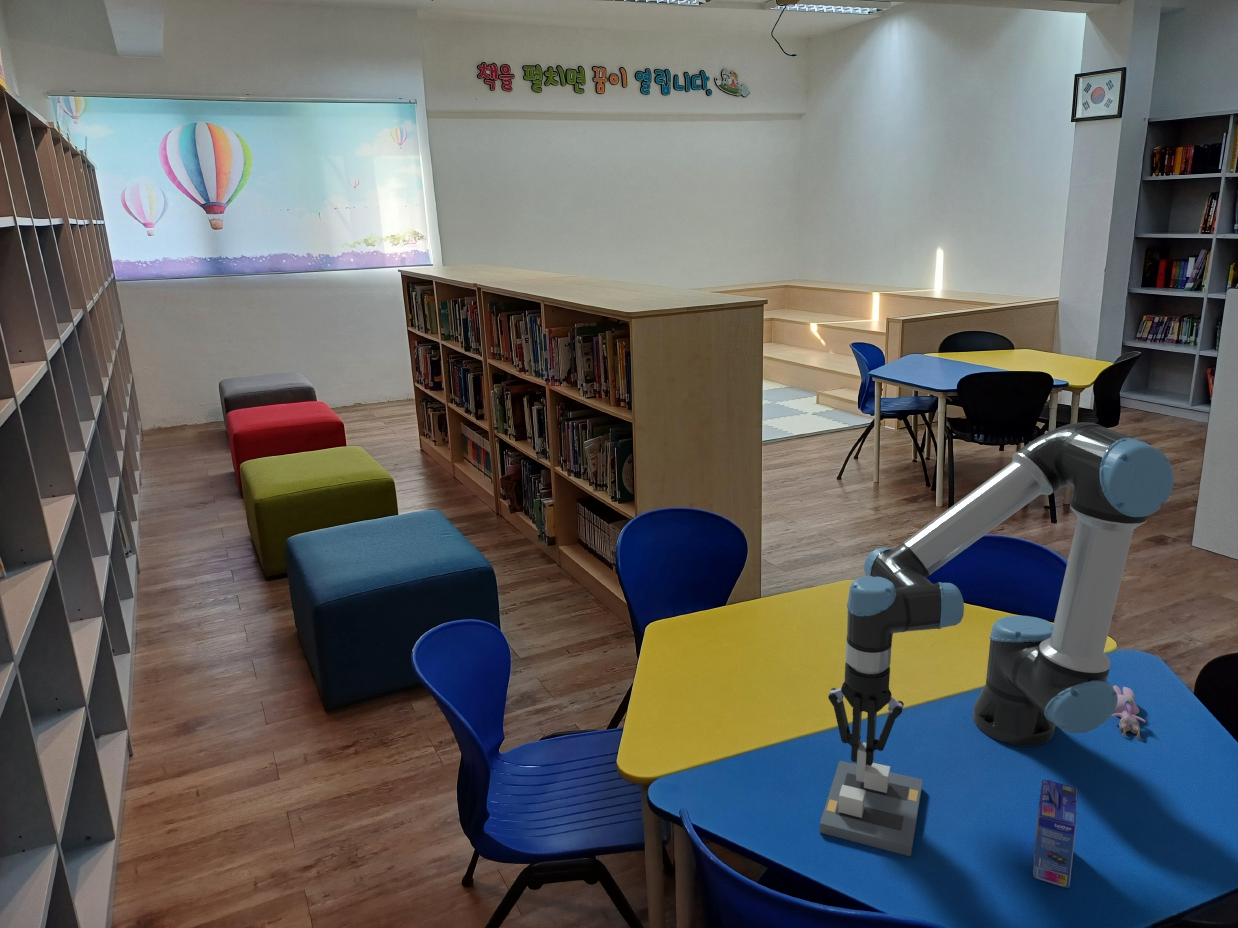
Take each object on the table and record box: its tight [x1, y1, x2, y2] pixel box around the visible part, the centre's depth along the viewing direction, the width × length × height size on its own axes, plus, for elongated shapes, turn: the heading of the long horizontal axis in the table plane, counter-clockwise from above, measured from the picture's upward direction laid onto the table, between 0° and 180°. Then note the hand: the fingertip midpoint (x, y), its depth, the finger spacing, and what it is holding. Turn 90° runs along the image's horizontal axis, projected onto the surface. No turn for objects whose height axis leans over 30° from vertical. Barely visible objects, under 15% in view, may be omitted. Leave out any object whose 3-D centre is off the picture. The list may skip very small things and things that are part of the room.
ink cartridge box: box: [1032, 778, 1078, 889], centre depth 137 cm, size 10×6×14 cm, turn 153°
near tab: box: [838, 785, 866, 818], centre depth 149 cm, size 4×3×4 cm
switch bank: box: [819, 760, 924, 857], centre depth 152 cm, size 15×18×2 cm
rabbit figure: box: [1110, 685, 1147, 739], centre depth 174 cm, size 6×6×15 cm
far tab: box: [864, 762, 891, 793], centre depth 155 cm, size 4×3×4 cm
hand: (861, 776), depth 156 cm, fingers closed
